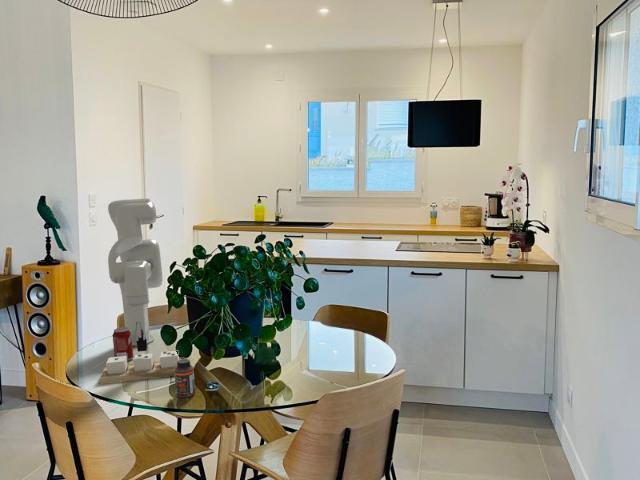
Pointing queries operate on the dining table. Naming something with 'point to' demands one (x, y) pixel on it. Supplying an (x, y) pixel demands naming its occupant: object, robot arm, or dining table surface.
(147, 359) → the tile
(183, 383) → the supplement bottle
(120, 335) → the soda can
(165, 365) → the tile
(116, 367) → the tile
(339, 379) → the dining table surface
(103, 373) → the board
